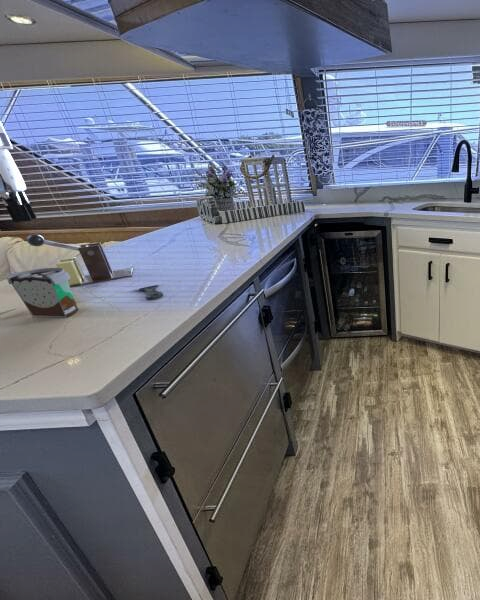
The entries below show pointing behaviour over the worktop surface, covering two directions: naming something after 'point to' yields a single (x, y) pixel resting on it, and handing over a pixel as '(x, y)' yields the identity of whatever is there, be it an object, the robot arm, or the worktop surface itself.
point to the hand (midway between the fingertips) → (25, 219)
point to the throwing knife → (151, 292)
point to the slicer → (99, 266)
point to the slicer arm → (47, 242)
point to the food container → (45, 292)
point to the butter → (72, 269)
